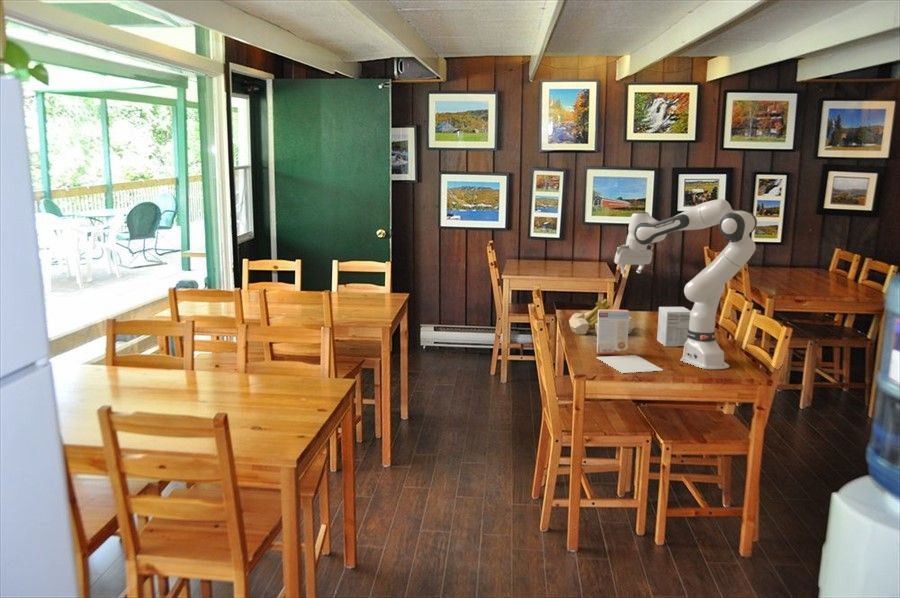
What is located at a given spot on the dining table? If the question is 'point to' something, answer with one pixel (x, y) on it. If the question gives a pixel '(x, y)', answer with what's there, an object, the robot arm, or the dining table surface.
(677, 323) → the supplement box
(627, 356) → the felt mat
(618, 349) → the cracker box
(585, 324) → the campfire
